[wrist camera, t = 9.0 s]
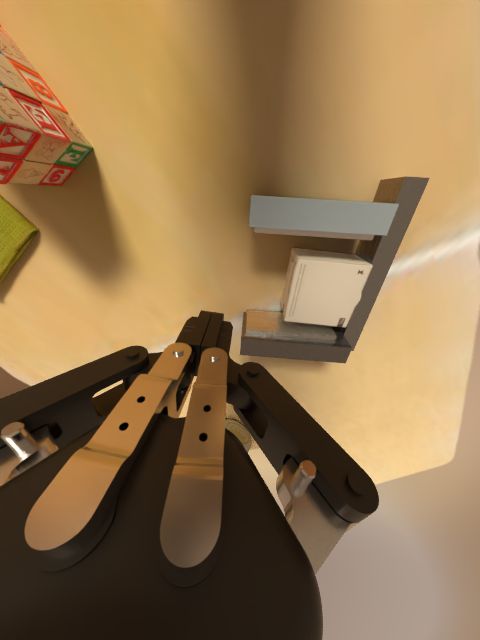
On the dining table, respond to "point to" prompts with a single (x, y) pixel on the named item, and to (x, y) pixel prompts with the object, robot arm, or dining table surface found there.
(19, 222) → the dish towel
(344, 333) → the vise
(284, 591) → the robot arm
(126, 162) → the dining table surface
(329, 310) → the small box
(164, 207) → the dining table surface
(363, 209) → the block
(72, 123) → the stack of blocks
